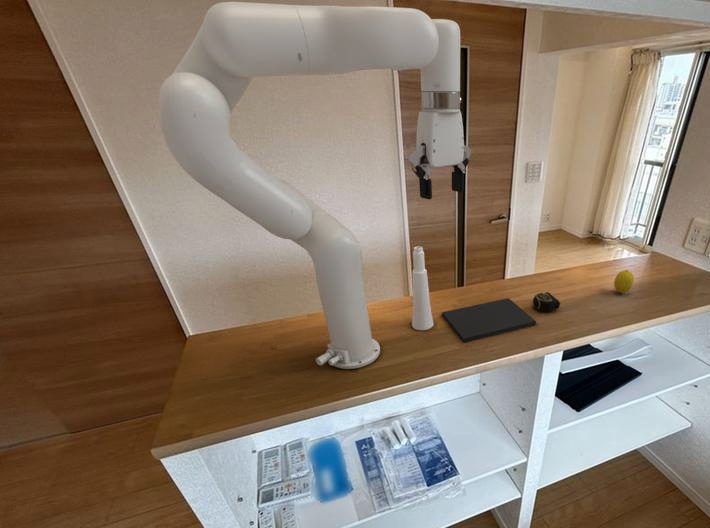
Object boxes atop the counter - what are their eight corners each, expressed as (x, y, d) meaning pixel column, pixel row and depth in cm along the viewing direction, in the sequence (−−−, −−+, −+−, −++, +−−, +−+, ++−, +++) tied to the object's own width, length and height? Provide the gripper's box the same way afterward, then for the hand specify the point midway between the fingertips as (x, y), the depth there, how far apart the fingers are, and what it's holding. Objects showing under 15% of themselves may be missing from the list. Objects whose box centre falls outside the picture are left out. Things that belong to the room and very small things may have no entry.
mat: (463, 342, 95) (463, 338, 95) (442, 315, 106) (441, 312, 106) (535, 324, 103) (536, 321, 102) (508, 301, 114) (508, 297, 113)
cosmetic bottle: (436, 321, 104) (434, 244, 91) (428, 332, 99) (424, 253, 87) (417, 317, 105) (411, 242, 93) (408, 328, 101) (401, 250, 88)
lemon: (633, 294, 118) (640, 270, 114) (622, 298, 116) (629, 275, 111) (618, 287, 122) (625, 265, 118) (607, 292, 120) (614, 268, 115)
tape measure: (559, 311, 109) (562, 300, 107) (539, 315, 107) (540, 303, 105) (548, 301, 114) (550, 290, 112) (528, 304, 112) (529, 293, 110)
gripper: (457, 102, 80) (457, 186, 90) (394, 103, 70) (401, 198, 79) (483, 103, 76) (480, 191, 86) (420, 104, 66) (424, 204, 75)
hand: (442, 194), depth 82 cm, fingers open, 9 cm apart
